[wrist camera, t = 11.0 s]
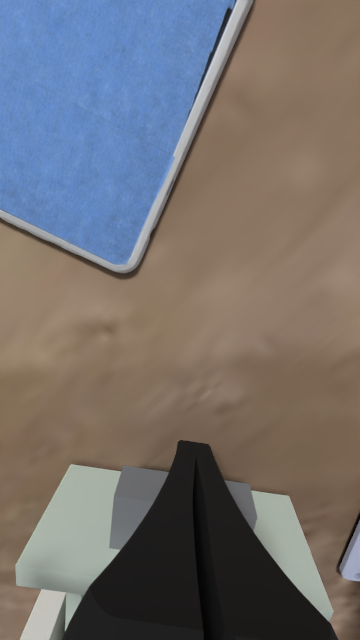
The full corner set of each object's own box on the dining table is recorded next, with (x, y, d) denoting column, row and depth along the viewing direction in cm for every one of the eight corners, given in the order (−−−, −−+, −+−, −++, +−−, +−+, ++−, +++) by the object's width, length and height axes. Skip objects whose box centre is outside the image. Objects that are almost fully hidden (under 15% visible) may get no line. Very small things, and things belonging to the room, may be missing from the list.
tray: (302, 454, 15) (357, 559, 10) (236, 659, 20) (250, 795, 15) (72, 420, 15) (13, 509, 10) (65, 634, 20) (24, 762, 15)
